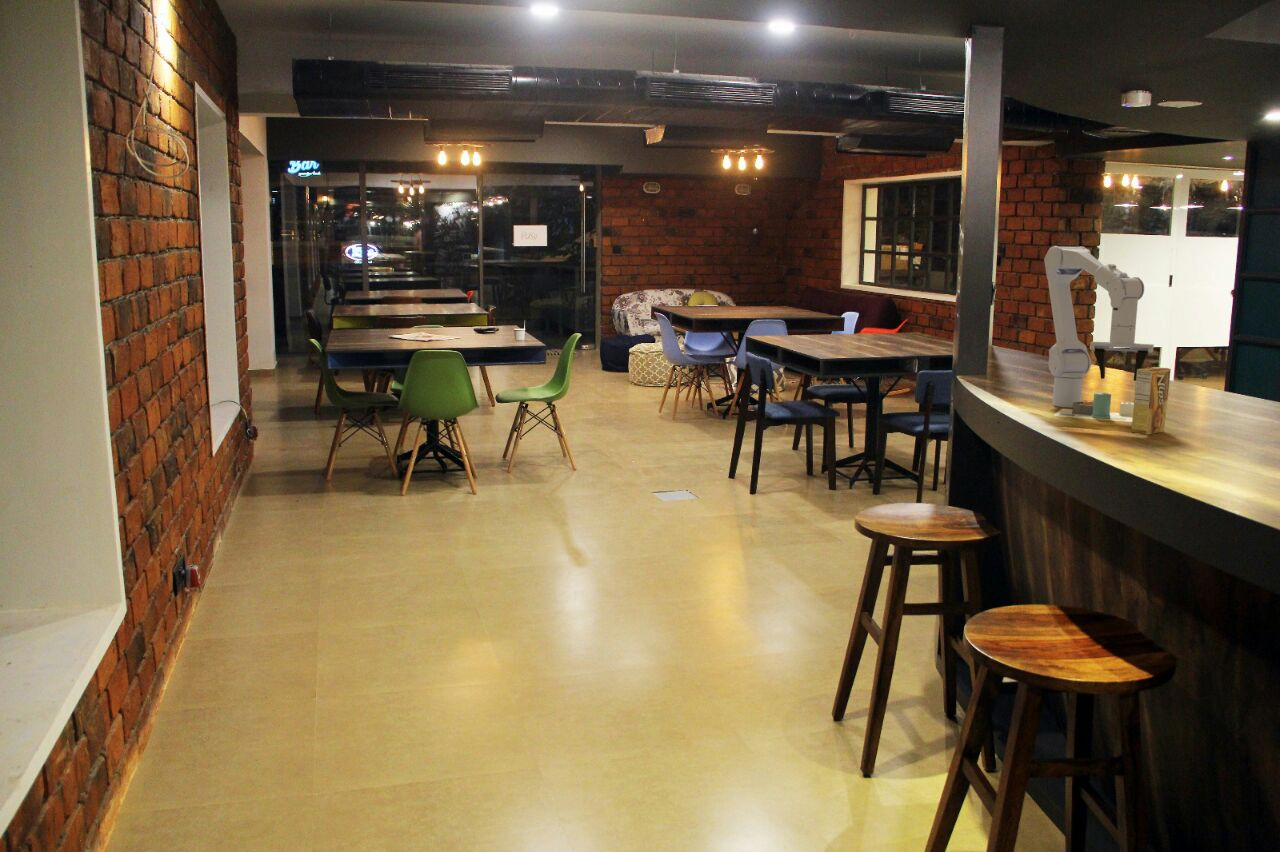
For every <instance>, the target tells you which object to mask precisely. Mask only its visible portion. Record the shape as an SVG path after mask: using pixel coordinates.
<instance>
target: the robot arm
mask: <svg viewBox="0 0 1280 852" xmlns="http://www.w3.org/2000/svg"><path fill="white" fill-rule="evenodd" d="M1043 258H1044V259H1043V261H1044V267H1045V274H1046V280H1047V283H1048V285H1047V286H1048V291H1049V298H1050V305H1051V312H1052V318H1053V319H1052V320H1053V325H1054V333H1055V339H1056V342H1055V343H1054V345H1052V346H1051V347H1050V348H1049V349H1048V355H1049V356H1048V361H1047V362H1048V363H1047V364H1048V365H1047V366H1048V369H1049V371H1050V373H1051V376H1052V377H1054V379H1053V389H1052V390H1053V392H1052V393H1053V394H1052V406H1055V407H1060V408H1073V403H1074V402H1082V397H1083V396H1082V394H1083V383H1084V382H1083V381H1084V378H1085V377H1086V375H1087V374H1088V373H1089V372H1090V370H1091V367H1092V359H1091V357H1090V354H1089V352H1088V348H1087V346H1086V344H1084V343H1083V342H1081V341H1080V340H1079V339H1078V331H1077V326H1076V319H1075V311H1074V306H1073V305H1074V304H1073V299H1072V292H1071V285H1070V284H1071V282H1072V281H1073V280H1075V279H1077V277H1078V276H1079V275H1081V273H1082V272H1083V271H1085V272H1087V273H1088V274H1090V275H1092V276H1093V278H1094V282H1095V283H1096V284H1098V285H1099V286H1100V287H1101V288H1102V289H1104V290H1105V291H1107V293H1108V296H1109V298H1110V307H1111V308H1112V309H1111V322H1110V333H1109V334H1110V335H1109V341H1106V342H1105V341H1091V342H1090V347H1089V349H1090V351H1091V350H1092V351H1094V352H1093V353H1094V356H1095V359H1096V361H1097V365H1098V368H1099V373H1100V374H1099V375H1100V379H1101V380H1102V379H1103V380H1104V379H1105V378H1106V360H1107V353H1108V351H1117V352H1118V351H1119V352H1136V353H1135V365H1134V366H1135V367H1134V374H1133V381H1135V382H1136V376H1137V369H1142V368H1143V365H1144V362H1145V361H1146V359H1147V358H1148V356H1149V354H1150V353H1154V349H1155V348H1154V347H1155V346H1154V345H1155V344H1150V343H1136V342H1135V340H1136V339H1135V338H1136V329H1137V328H1136V327H1137V326H1136V325H1137V316H1138V315H1137V314H1138V304H1139V300H1141V299H1142V297H1144V293H1145V284H1144V282H1143V280H1142V279H1141V278H1140V277H1138V276H1135V277H1130V276H1128V273H1127V272H1123V271H1121V270H1120V269H1118V268H1117V265H1116V264H1114V263H1105V264H1103V263H1102V262H1100V260H1098V259H1097V258H1096V257H1095V256H1093V254H1092V253H1091V251H1090V249H1089V248H1086V247H1085V246H1058V245H1052V246H1051V247H1050V248H1049V249H1048V250H1047V252H1046V254H1045V256H1044V257H1043Z"/></svg>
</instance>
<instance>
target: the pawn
mask: <svg viewBox="0 0 1280 852" xmlns="http://www.w3.org/2000/svg"><path fill="white" fill-rule="evenodd" d="M1111 401H1112V394H1111V393H1108V392H1094V393H1093V413H1092V415H1091V417H1092V418H1098V419H1097V420H1099V419H1110V412H1111V403H1112V402H1111Z"/></svg>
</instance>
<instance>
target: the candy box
mask: <svg viewBox="0 0 1280 852" xmlns="http://www.w3.org/2000/svg"><path fill="white" fill-rule="evenodd" d="M1171 369H1172V368H1168V367H1160V366H1159V367H1158V366H1153V367H1151V366H1150V367H1144V368H1143V367H1142V368H1141V369H1137V376H1136V381H1135V389H1134V399H1133V403H1134V408H1133V418H1132V422H1131V430H1136V431H1131V432H1132V433H1131V434H1135V433H1140V434H1139V435H1143V434H1146V435H1145V436H1147V434H1149V435H1152V434H1158V433H1163V431H1164V432H1165V428H1166V418H1167V409H1168V400H1169V398H1168V397H1169V389H1170V381H1171ZM1137 431H1143V432H1137Z"/></svg>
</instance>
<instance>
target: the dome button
mask: <svg viewBox="0 0 1280 852" xmlns="http://www.w3.org/2000/svg"><path fill="white" fill-rule="evenodd" d="M1093 401H1094V399H1093V400H1092V399H1090V400H1088V399H1087V400H1086V399H1085V400H1083V401H1082V402H1083V404H1081V405H1092V406H1093Z"/></svg>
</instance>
